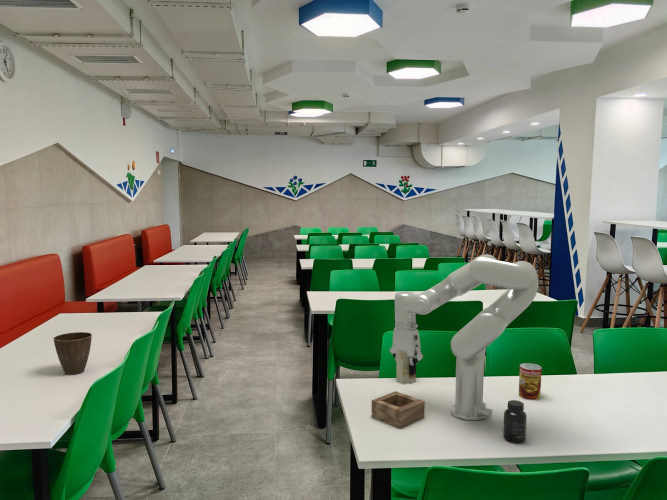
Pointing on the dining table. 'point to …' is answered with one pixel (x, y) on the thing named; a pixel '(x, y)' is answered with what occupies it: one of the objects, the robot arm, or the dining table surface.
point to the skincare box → (403, 368)
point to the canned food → (530, 381)
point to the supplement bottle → (515, 422)
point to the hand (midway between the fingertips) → (406, 372)
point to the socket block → (398, 409)
